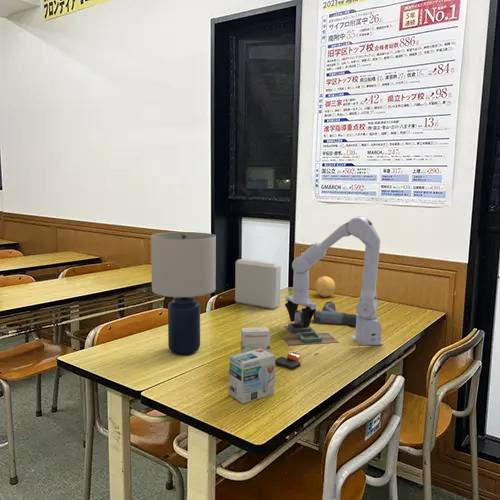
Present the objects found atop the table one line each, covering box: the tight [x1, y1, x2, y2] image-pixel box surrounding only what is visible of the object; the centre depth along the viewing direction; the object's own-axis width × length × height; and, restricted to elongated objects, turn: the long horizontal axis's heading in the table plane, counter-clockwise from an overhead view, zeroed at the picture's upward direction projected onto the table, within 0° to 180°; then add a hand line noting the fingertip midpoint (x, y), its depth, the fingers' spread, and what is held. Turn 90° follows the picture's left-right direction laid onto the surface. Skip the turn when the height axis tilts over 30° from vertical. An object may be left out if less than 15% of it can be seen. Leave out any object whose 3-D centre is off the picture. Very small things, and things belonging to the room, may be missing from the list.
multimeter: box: [275, 351, 319, 371], centre depth 150 cm, size 18×12×3 cm, turn 136°
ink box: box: [240, 326, 271, 353], centre depth 142 cm, size 9×5×12 cm, turn 96°
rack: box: [280, 331, 340, 347], centre depth 166 cm, size 10×18×2 cm, turn 102°
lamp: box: [150, 231, 217, 356], centre depth 152 cm, size 20×20×39 cm
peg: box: [293, 309, 305, 328], centre depth 176 cm, size 4×4×7 cm
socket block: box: [282, 322, 316, 335], centre depth 176 cm, size 10×10×2 cm
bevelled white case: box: [234, 258, 282, 310], centre depth 211 cm, size 21×8×20 cm, turn 58°
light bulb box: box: [228, 348, 276, 404], centre depth 123 cm, size 11×7×11 cm, turn 126°
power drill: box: [312, 301, 356, 326], centre depth 192 cm, size 5×19×20 cm
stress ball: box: [314, 275, 336, 298], centre depth 229 cm, size 10×10×10 cm
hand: (299, 323), depth 176 cm, fingers open, 7 cm apart
